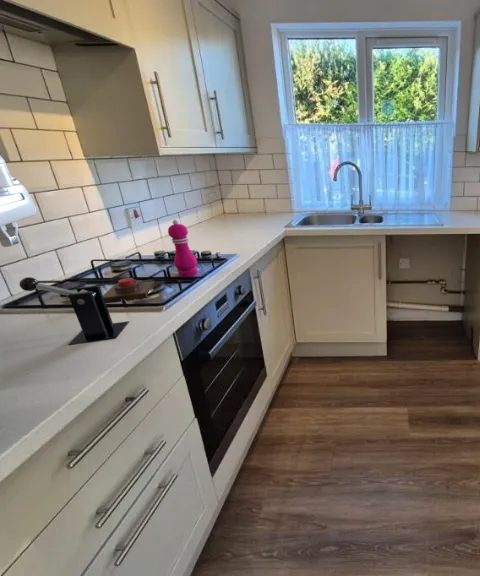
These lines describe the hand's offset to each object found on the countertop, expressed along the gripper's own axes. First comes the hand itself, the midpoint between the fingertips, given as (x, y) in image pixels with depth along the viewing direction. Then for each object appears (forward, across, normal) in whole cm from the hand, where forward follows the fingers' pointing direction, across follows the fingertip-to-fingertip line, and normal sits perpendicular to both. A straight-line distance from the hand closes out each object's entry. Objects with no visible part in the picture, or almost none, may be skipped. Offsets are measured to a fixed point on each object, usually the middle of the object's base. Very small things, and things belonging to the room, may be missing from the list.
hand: (11, 244), depth 79 cm
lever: (+13, 0, +4) cm, 14 cm away
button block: (+25, -27, +8) cm, 38 cm away
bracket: (+25, 0, +10) cm, 27 cm away
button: (+21, -27, +8) cm, 35 cm away
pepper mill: (+25, -42, +22) cm, 54 cm away
